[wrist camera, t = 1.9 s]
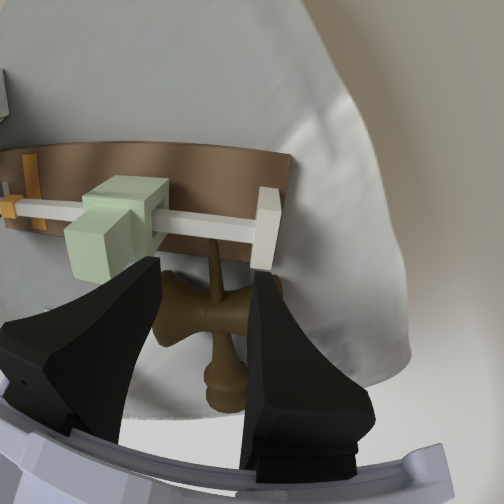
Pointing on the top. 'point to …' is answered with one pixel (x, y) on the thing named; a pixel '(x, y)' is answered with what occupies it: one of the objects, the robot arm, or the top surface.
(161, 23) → the top surface
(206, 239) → the board
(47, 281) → the top surface
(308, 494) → the robot arm
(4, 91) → the syrup box
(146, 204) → the sleeve
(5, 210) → the linear slide rail
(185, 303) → the kendama
